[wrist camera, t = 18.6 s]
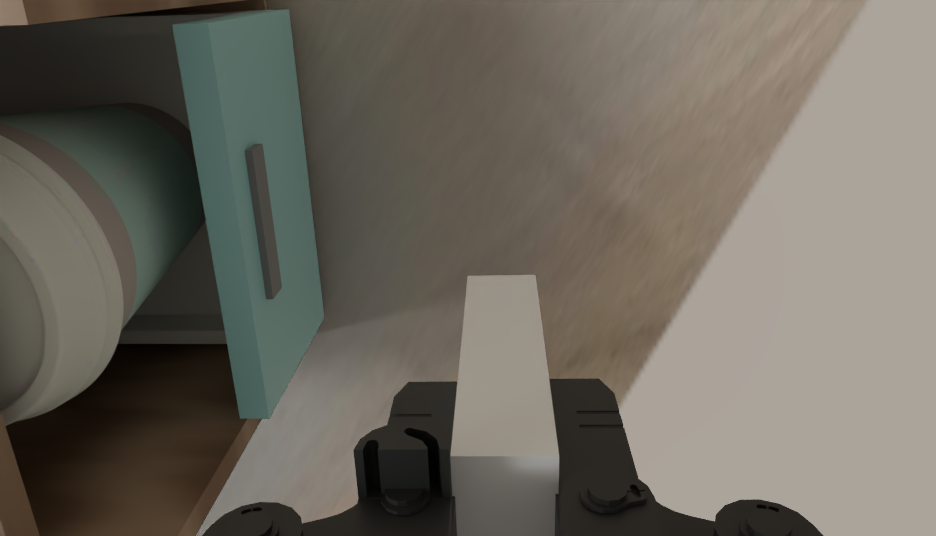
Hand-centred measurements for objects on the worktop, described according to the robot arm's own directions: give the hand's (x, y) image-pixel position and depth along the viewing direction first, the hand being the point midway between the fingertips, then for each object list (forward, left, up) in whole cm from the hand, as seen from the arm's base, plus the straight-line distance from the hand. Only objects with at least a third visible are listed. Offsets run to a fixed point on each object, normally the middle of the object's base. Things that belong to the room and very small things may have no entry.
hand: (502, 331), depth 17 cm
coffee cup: (-14, 0, -13) cm, 19 cm away
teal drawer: (-14, 0, -13) cm, 19 cm away
